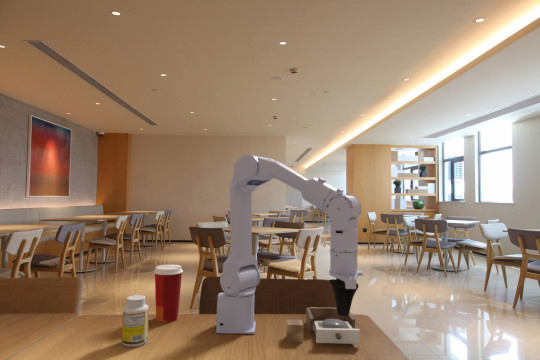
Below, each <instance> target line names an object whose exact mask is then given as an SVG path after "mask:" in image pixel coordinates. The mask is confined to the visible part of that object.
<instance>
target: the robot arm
mask: <svg viewBox="0 0 540 360" xmlns="http://www.w3.org/2000/svg"><path fill="white" fill-rule="evenodd" d="M274 179H276V180H277V181H280V182H282V183H284V184H286V185H288V186H289V187H291V188H293V189H295V190H297V191H299V192H300V193H301V198H302V199H303V200H304V201H305V202H307V203H309V204H310V205H312V206H314V207H316V208H317V209H319V210H321V211H322V212H324V213H326V214H327V217H328V218H329V220H330V252H329V253H330V254H329V256H330V259H329V263H330V264H329V268H330V269H329V271H328V275H329V276H331V277H333V278H334V279H333V278H332V279H329V280H328V282H329V284H330V286H331V288H332V292H333V297H334V301H335V306H336V307H335V308H337V313H338V315H339V316H348V315H349V312H350V313H351V311H350V310H351V308H352V307H351V306H352V303H353V299H354V296H355V294H356V293H357V290H358V289H359V284H358V282H357V278H358V277H360V276H361V277H363V275H364V272H363V271H362V270H358V246H359V245H358V241H359V240H358V236H359V235H358V231H359V229H358V228H359V227H358V220H359V219H358V218H359V217H360V216H361V214H362V209H363V208H362V203H361V202H360V201H361V200H360V199H359V198H357V197H355V195H354V194H351V193H350V194H344V193H343V192H344V190H343V189H342V188H336V187H334V186H332V185H330V184H328V183H326V182H327V180H326V179H324V178H322V177H319V178H317V177H313V178H310V179H308V178H306V177H304V175H301V174H300V173H298V172H296V171H295V170H294V169H292V168H290V167H288V166H287V165H285V164H284V163H282V162H280V161H278V160H275V159H273V158H271V157H267V156H257V155H252V154H250V153H249V154H248V153H244V154H243V155H241V156H240V157H239V158H238V159H237V160H236V161H235V162H234V163H233V176H232V179H231V181H230V186H229V213H230V214H229V217H230V219H229V220H230V222H229V224H230V226H229V227H230V228H229V230H230V233H229V234H230V237H229V238H230V239H229V240H230V241H229V242H230V243H229V245H230V248H229V249H230V250H229V251H230V254H229V256H228V257H227V258H226V260H225V261H224V262H223V264H222V272H221V274H220V278H219V284H220V287H221V290H222V291H223V292H219V293H218V294H217V301H216V317H215V318H216V319H215V321H216V322H215V323H216V327H215V329H216V330H215V333H216V334H243V335H246V334H247V335H248V334H251V335H253V334H255V333H256V326H257V325H256V320H255V292H256V290H257V286H258V285H259V284H260V283H261V282H260V281H261V272H260V270H259V267H258V260H257V258H256V257H255V256H254V255H253V243H252V242H253V241H252V240H253V239H252V238H253V237H252V236H253V234H252V232H253V228H252V223H253V222H252V220H253V219H252V217H253V216H252V194H253V193H254V191H256V190H257V188H259V187H260V186H262V185H264V184H266V183H268V182H270V181H271V180H274Z"/></svg>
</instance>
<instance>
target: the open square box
mask: <svg viewBox="0 0 540 360" xmlns="http://www.w3.org/2000/svg"><path fill="white" fill-rule="evenodd" d="M305 308H306V309H305V310H306V311H305V324H306V326H307V330H308V333H309V335H310V336H316V333H315V330H314V321H323V320H326V319H339V320H342V321H348V322H349V324H350V325H351V327H352V328H353V329H356V319H355V317H354V316H353V314H352V313H351V311H350V312H349V315H348V316H339V315H338V313H337V308H336V307H329V306H327V307H326V306H325V307H324V306H321V307H319V306H318V307H316V306H313V307H311V306H306V307H305Z"/></svg>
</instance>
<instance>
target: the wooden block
mask: <svg viewBox="0 0 540 360" xmlns="http://www.w3.org/2000/svg"><path fill="white" fill-rule="evenodd" d="M286 341H287V343H304V323H303V320H302V319H286Z"/></svg>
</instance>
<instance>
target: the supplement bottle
mask: <svg viewBox="0 0 540 360" xmlns="http://www.w3.org/2000/svg"><path fill="white" fill-rule="evenodd" d="M121 321H122V326H121V327H122V328H121V331H122V332H121V343H122V345H123V346H124V347H128V348H133V347H134V348H135V347H140V346H143V345H144V344H146V343H147V342H148V340H149V305H148V304H147V303H146V296H145V295H142V294H141V295H140V294H135V295H130V296H127V298H126V305H124V306H123V308H122V320H121Z"/></svg>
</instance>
